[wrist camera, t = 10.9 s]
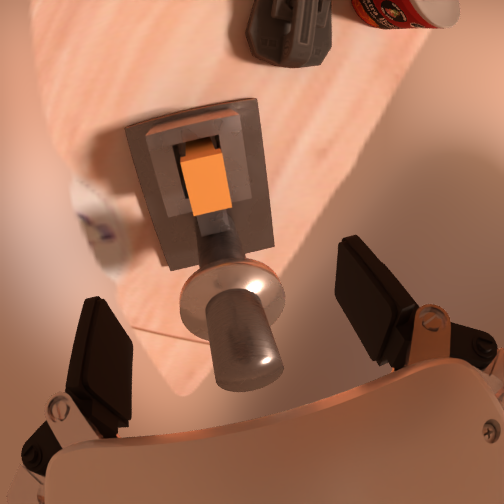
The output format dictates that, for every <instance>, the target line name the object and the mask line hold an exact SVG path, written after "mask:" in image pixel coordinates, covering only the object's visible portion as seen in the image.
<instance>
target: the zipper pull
mask: <svg viewBox="0 0 504 504" xmlns="http://www.w3.org/2000/svg"><path fill="white" fill-rule="evenodd" d="M245 35H246V37H247V40H248V43H249V46H250V49H251V52H252V55H253V56H255V57H257V58H259V59H261V60H264V61H266V62H268V63H270V64H272V65H275V66H282V67H288V68H301V67H309V66H318V65H321V63H322V62H323V60H324V58H325V57H326V55H327V54H328V52H329V50H330V49H331V47H332V26H331V0H255V1H254V4H253V8H252V12H251V15H250V19H249V22H248V26H247V29H246V33H245Z"/></svg>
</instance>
